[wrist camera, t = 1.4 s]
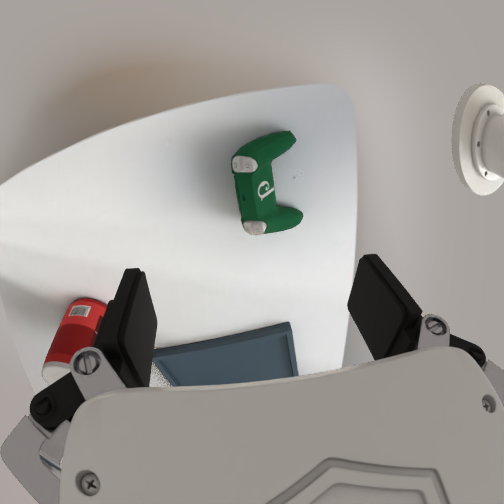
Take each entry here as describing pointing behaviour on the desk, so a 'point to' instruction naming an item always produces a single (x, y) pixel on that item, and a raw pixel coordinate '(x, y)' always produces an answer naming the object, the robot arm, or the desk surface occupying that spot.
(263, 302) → the desk surface
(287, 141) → the gaming controller
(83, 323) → the canned food
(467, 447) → the robot arm
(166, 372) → the tray
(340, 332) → the desk surface
